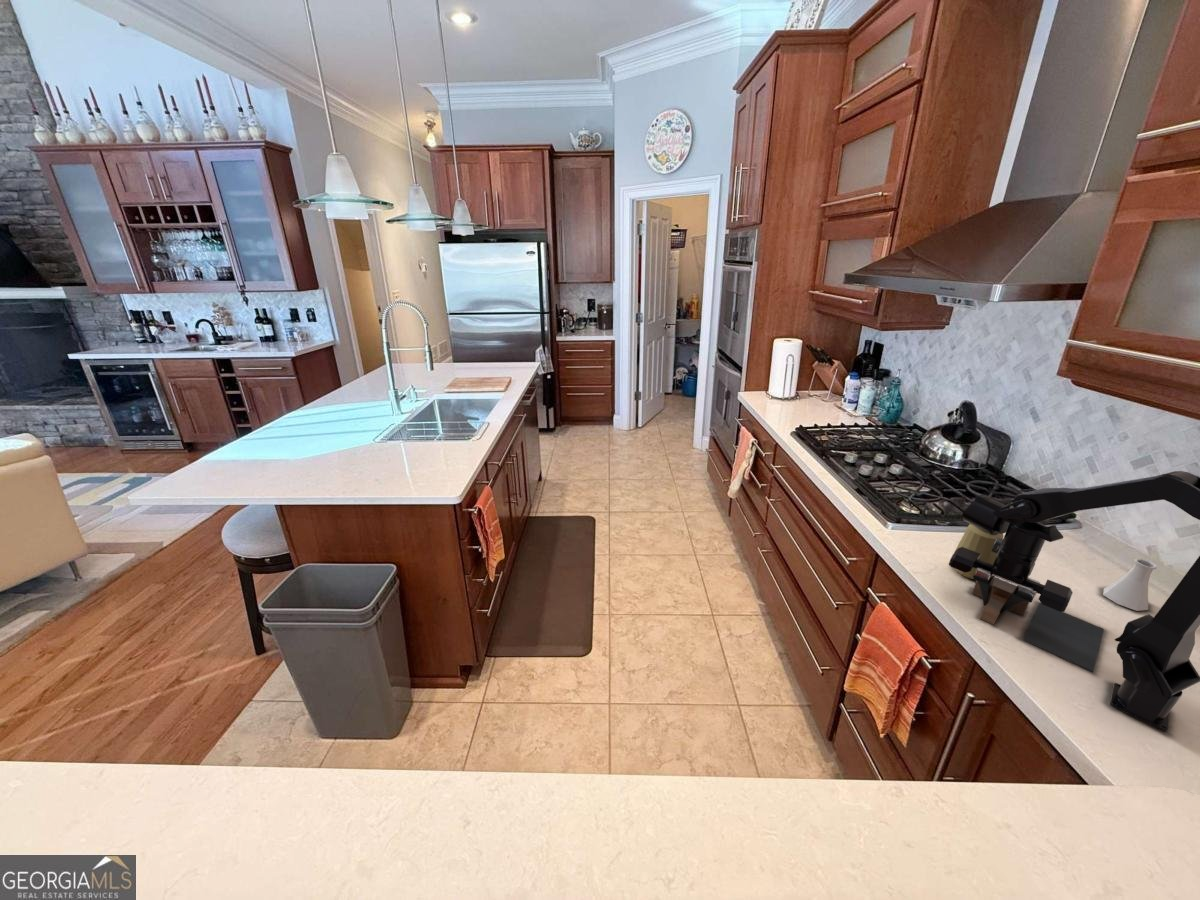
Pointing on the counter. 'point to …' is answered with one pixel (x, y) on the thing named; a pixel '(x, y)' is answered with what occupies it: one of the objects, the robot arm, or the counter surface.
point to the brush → (998, 600)
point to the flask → (1132, 586)
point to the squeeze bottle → (978, 546)
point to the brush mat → (1065, 636)
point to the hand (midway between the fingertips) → (993, 609)
